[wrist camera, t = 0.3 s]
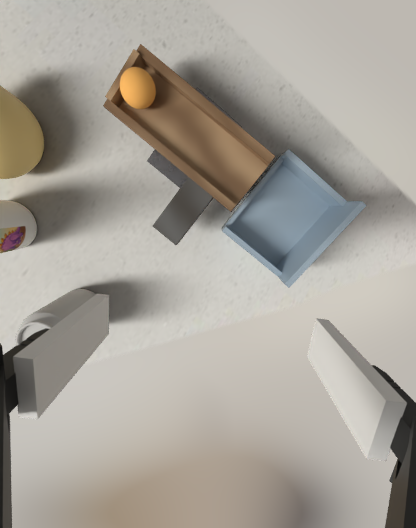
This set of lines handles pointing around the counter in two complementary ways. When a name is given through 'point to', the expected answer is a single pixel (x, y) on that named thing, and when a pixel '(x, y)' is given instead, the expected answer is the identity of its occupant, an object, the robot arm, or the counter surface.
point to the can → (52, 313)
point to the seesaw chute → (190, 144)
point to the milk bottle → (15, 226)
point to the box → (290, 218)
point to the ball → (137, 88)
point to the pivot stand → (171, 169)
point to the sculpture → (18, 137)
